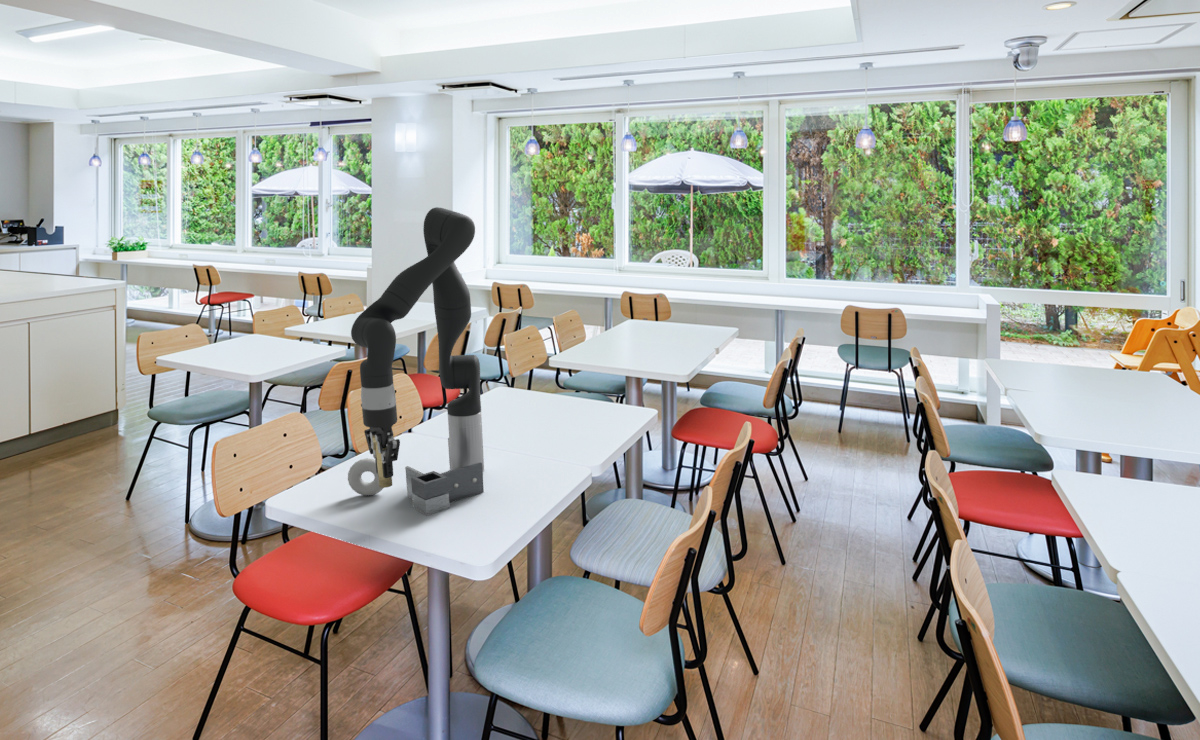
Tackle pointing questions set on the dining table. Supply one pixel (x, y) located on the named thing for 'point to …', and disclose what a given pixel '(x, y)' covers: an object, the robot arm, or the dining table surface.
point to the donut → (357, 481)
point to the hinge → (443, 487)
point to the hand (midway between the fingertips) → (384, 474)
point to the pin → (381, 470)
